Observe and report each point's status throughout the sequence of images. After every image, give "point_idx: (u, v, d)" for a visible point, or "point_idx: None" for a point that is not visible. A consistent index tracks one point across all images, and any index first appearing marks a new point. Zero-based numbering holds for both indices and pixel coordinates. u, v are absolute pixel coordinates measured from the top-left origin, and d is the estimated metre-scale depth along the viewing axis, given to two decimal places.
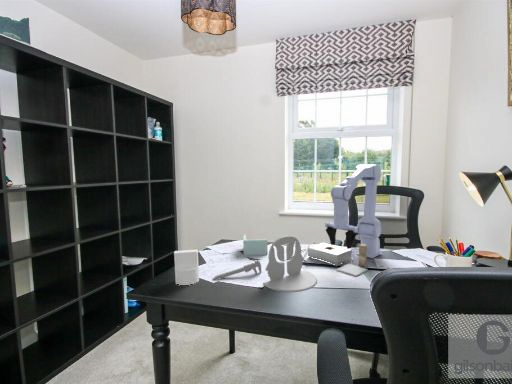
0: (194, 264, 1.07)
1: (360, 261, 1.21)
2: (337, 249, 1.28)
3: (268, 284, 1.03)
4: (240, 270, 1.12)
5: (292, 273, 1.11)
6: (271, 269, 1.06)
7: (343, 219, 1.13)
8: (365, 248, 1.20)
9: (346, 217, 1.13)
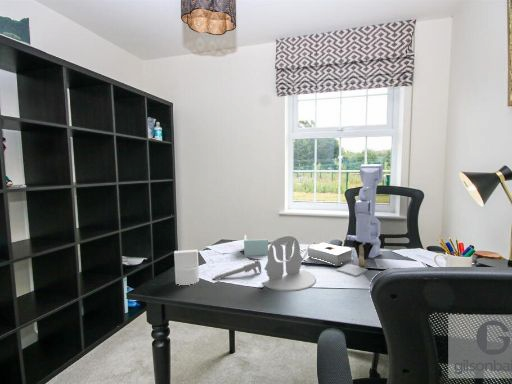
0: (194, 264, 1.07)
1: (360, 261, 1.21)
2: (337, 249, 1.28)
3: (267, 283, 1.03)
4: (240, 270, 1.12)
5: (291, 273, 1.12)
6: (270, 268, 1.06)
7: (366, 233, 1.17)
8: None
9: (368, 231, 1.18)
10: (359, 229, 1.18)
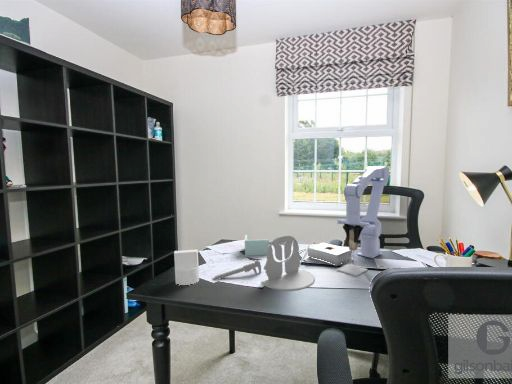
0: (194, 264, 1.07)
1: (350, 246, 1.23)
2: (337, 249, 1.28)
3: (266, 283, 1.04)
4: (240, 270, 1.12)
5: (290, 272, 1.12)
6: (269, 268, 1.07)
7: (355, 215, 1.19)
8: None
9: (358, 214, 1.20)
10: (349, 212, 1.20)
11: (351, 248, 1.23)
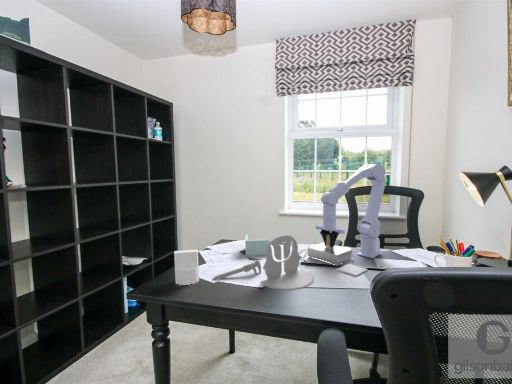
0: (194, 264, 1.07)
1: None
2: (337, 249, 1.28)
3: (265, 282, 1.04)
4: (240, 270, 1.12)
5: (289, 272, 1.13)
6: (269, 267, 1.07)
7: (331, 222, 1.26)
8: None
9: (334, 220, 1.27)
10: (325, 218, 1.27)
11: None
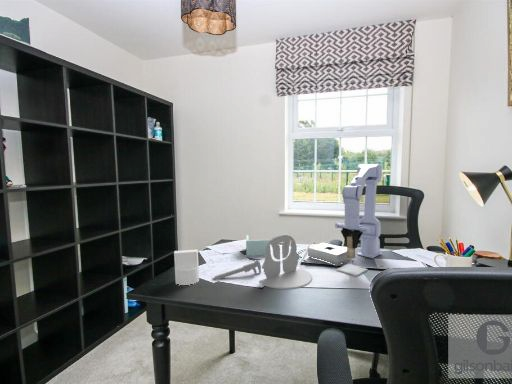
0: (194, 264, 1.07)
1: (348, 254, 1.14)
2: (337, 249, 1.28)
3: (264, 282, 1.05)
4: (240, 270, 1.12)
5: (288, 271, 1.14)
6: (267, 267, 1.08)
7: (354, 219, 1.11)
8: None
9: (357, 217, 1.11)
10: (347, 216, 1.12)
11: (349, 256, 1.14)
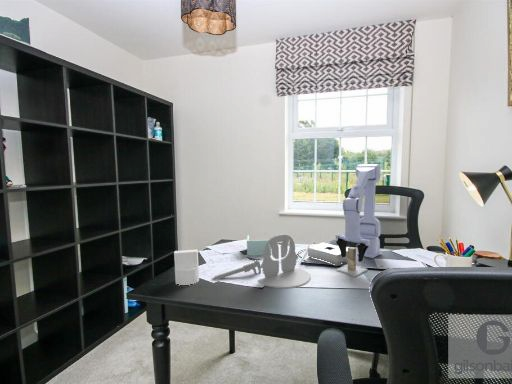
0: (194, 264, 1.07)
1: (349, 265, 1.15)
2: (337, 249, 1.28)
3: (263, 281, 1.06)
4: (240, 270, 1.12)
5: (286, 270, 1.14)
6: (266, 266, 1.08)
7: (355, 232, 1.11)
8: (354, 251, 1.14)
9: (358, 230, 1.12)
10: (348, 228, 1.12)
11: (350, 268, 1.15)
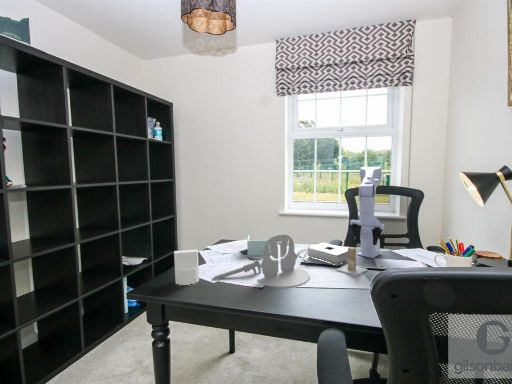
0: (194, 264, 1.07)
1: (349, 265, 1.15)
2: (337, 249, 1.28)
3: (262, 281, 1.06)
4: (239, 270, 1.12)
5: (286, 270, 1.15)
6: (266, 266, 1.09)
7: (369, 216, 1.16)
8: (354, 251, 1.14)
9: (372, 214, 1.17)
10: (363, 213, 1.17)
11: (350, 268, 1.15)
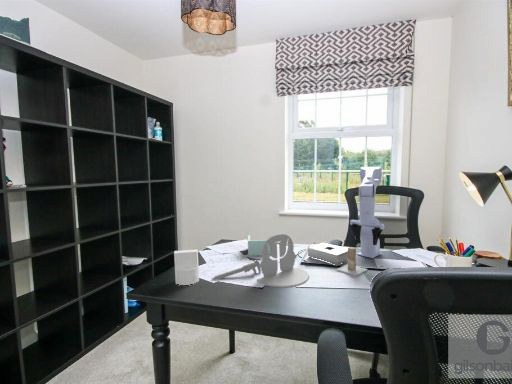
0: (194, 264, 1.07)
1: (349, 265, 1.15)
2: (337, 249, 1.28)
3: (262, 280, 1.06)
4: (239, 270, 1.12)
5: (285, 270, 1.15)
6: (265, 265, 1.09)
7: (369, 216, 1.17)
8: (354, 251, 1.14)
9: (372, 214, 1.17)
10: (363, 213, 1.17)
11: (350, 268, 1.15)
